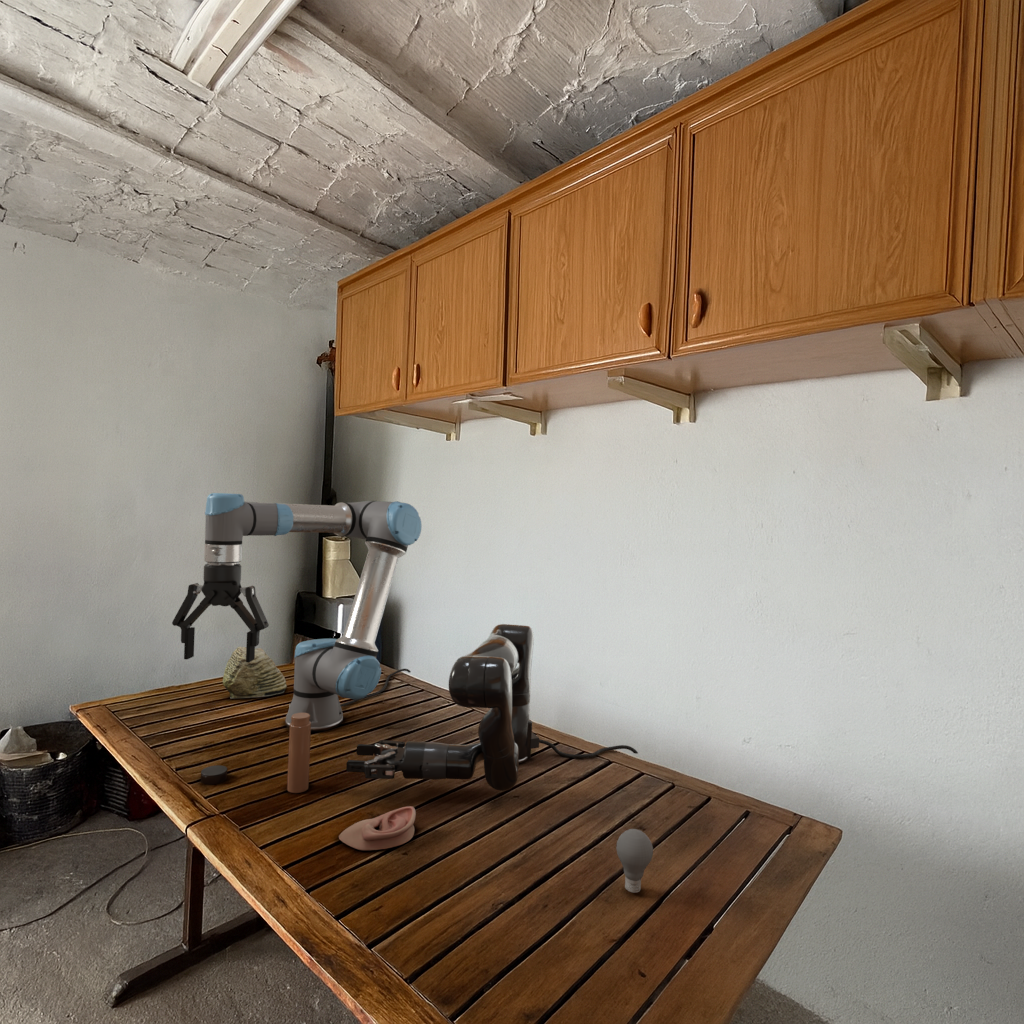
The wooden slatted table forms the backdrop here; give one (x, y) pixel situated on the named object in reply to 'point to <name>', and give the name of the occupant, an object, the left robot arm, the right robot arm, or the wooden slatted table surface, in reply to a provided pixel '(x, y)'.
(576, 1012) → the wooden slatted table surface
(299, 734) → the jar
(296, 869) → the wooden slatted table surface
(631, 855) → the light bulb
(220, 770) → the lid
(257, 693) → the fossil
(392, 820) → the anatomical model
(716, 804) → the wooden slatted table surface
